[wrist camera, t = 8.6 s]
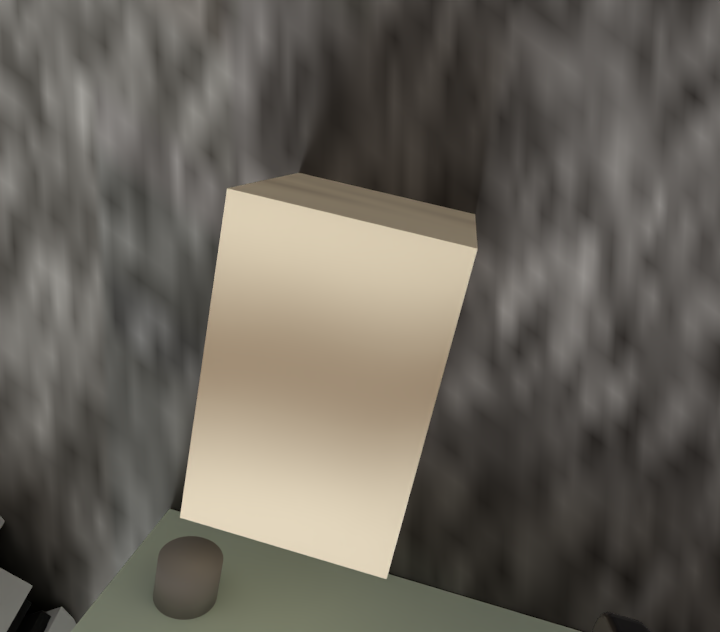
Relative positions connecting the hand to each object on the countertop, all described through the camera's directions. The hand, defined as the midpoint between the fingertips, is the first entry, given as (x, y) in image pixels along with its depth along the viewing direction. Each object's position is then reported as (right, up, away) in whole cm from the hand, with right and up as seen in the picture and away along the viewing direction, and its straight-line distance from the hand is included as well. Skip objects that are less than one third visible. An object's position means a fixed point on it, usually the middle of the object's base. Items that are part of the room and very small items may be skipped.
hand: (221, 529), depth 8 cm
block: (+2, +2, +9) cm, 10 cm away
